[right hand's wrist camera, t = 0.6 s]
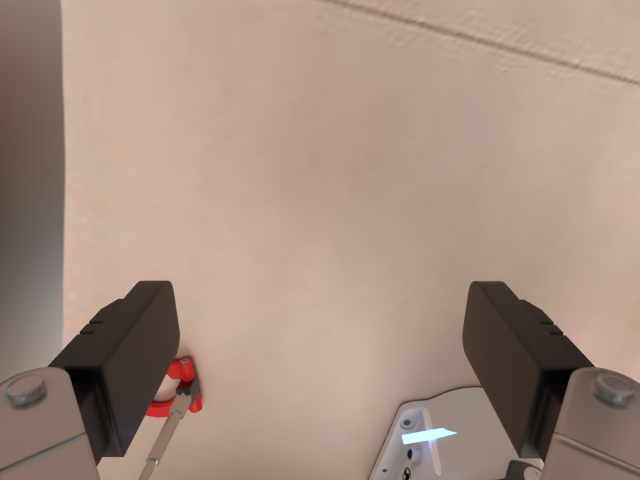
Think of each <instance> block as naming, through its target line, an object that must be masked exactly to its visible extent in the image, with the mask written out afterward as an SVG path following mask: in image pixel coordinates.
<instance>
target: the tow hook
mask: <svg viewBox="0 0 640 480" xmlns="http://www.w3.org/2000/svg"><path fill="white" fill-rule="evenodd" d="M166 374H167V375H168V376H169V377H170V378H172V379H182V380H181V381H180V383H179V385H178V387H177V389H176V392H177V395H176V397H175V398H174V399H173V400H171V401H170V402H166V403H159V404H158V403H151V405H150V407H149V409H148V410H147V412H146V414H145V415H147V416H151V417H168V418H167V420H166V422H165V424H164V426H163V428H162V430H161V432H160V434H159V436H158V438H157V440H156V441H155V443H154V445H153V447H152V449H151V451H150V453H149V455H148V457H147V459H146V463H147V464H146V466H145V468H144V470H143V472H142V474H141V476H140V478H139V480H149V478H150V476H151V473H152V471H153V469H154V467H155V466H157V465H158V464H159V462H160V460H161V458H162V456H163V454H164V452H165V450H166V448H167V446H168V444H169V441H170V439H171V437H172V435H173V433H174V431H175V429H176V427H177V425H178V423H179V421H180V419H182V418H183V417H184V416H185V414H186V411H187V409H190V411H191V412H192V413H196V412H198V411H200V410H201V409H202V403H201V399H200V395H199V386H198V382H197V377H196V375H195V373H194V368H193V364H192V359H191V358H188V357H187V358H183V359H181V360H180V361H173V362H172V364H171V366H170V368H169V370H168V371H167V373H166Z"/></svg>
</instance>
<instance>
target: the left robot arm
mask: <svg viewBox="0 0 640 480" xmlns="http://www.w3.org/2000/svg"><path fill="white" fill-rule="evenodd" d="M405 420H408V421H405ZM542 470H543V466H542V463H541V461H540V458H519V456H518V455H517V453H516V451H515V449H514V447H513V445H512V443H511V441H510V439H509V437H508V435H507V433H506V431H505V430H504V428H503V426H502V424H501V422H500V420H499V418H498V416H497V414H496V412H495V410H494V408H493V406H492V404H491V403H490V401H489V399H488V397H487V395H486V393H485V391H484V389H483V388H480V387H471V388H462V389H457V390H453V391H450V392H447V393H444V394H442V395H439V396H437V397H435V398H432V399H429V400H422V401H413V402H408V403H405V404H403V405H401V406H400V408H399V410H398V412H397V414H396V417H395V419H394V421H393V424H392V426H391V428H390V431H389V433H388V435H387V438H386V440H385V442H384V445H383V447H382V449H381V452H380V454H379V456H378V459H377V461H376V463H375V466H374V468H373V470H372V473H371V475H370V477H369V480H540V477H541V473H542Z"/></svg>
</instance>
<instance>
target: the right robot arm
mask: <svg viewBox="0 0 640 480" xmlns="http://www.w3.org/2000/svg"><path fill="white" fill-rule="evenodd" d="M462 339H463V347H464V351H465V354H466V356H467V358H468V360H469V362H470V364H471V366H472V368H473V370H474V372H475V374H476V376H477V378H478V379H479V381H480V383H481V385H482V387H483V389H484V391H485V393H486V395H487V397H488V399H489V401H490V403H491V404H492V406H493V408H494V410H495V412H496V414H497V416H498V418H499V420H500V422H501V424H502V426H503V428H504V430H505V431H506V433H507V435H508V437H509V439H510V441H511V443H512V445H513V447H514V449H515V451H516V453H517V455H518V456H519V458H541V459H542V461H543V463H544V467H543V470H542V473H541V477H540V480H640V383H638V382H637V381H635V380H633V379H631V378H629V377H627V376H625V375H623V374H620V373H617V372H615V371H611V370H608V369H603V368H596V367H595V366H594V365H593V364H592V363H591V362H590V361H589V360H588V359H587V358H586V356H585V355H584V354H583V353H582V352H581V351H580V350H579V349H578V348H577V347H576V346H575V345H574V344H573V343H572V342H571V341H570V339H569V338H568V337H567V336H564V335H563V332H562V331H561V330H560V329H559V328H558V327H557V326H556V325H554V322H553V321H552V320H551V319H550V318H549V317H548V316H547V315H546V314H545V313H544V312H543V311H542V310H541V309H539V308H537V307H536V306H534V305H532V304H531V303H529V302H527V301H526V300H519V299H518V298H517V296H516V295H515V294H514V293H513V292H512V291H511V290H510V288H509V287H508V286H507V285H506V284H505V283H504V282H502V281H474V282H472V283H471V285H470V288H469V293H468V299H467V306H466V312H465V319H464V326H463V334H462ZM179 340H180V331H179V324H178V317H177V310H176V304H175V297H174V290H173V286H172V284H171V282H170V281H139V282H138V283H137V284H136V285H135V286H134V287H133V288H132V290H131V291H130V292H129V293H128V294H127V295H126V296H125V298H124V299H117V300H116V301H114V302H112V303H111V304H109V305H107V306H106V307H104V308H102V309H101V310H100V311H99V312H98V313H97V314H96V315H95V316H94V317H93V318H92V319H91V320H90V321H89V324H87V325H86V326H85V327H84V328H83V329H82V330H81V331H80V334H79V335H76V336H75V338H74V339H73V340H72V341H71V342H70V343H69V344H68V345H67V346H66V347H65V348H64V349H63V350H62V352H61V353H60V354H59V355H58V356H57V357H56V358H55V359H54V360H53V361H52V362H51V363H50V364H49V365H48V367H44V368H37V369H32V370H29V371H25V372H23V373H20V374H17V375H15V376H13V377H11V378H9V379H7V380H5V381H4V382H2V383H0V480H100V477H99V473H98V470H97V465H98V464H99V462H100V460H101V458H102V457H124V455H125V453H126V451H127V449H128V448H129V446H130V444H131V442H132V440H133V438H134V436H135V434H136V432H137V430H138V428H139V426H140V424H141V422H142V420H143V418H144V416H145V414H146V412H147V410H148V409H149V407H150V405H151V403H152V401H153V399H154V397H155V395H156V393H157V391H158V389H159V387H160V385H161V383H162V381H163V379H164V377H165V375H166V373H167V371H168V370H169V368H170V366H171V364H172V362H173V360H174V358H175V356H176V354H177V351H178V347H179Z"/></svg>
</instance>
